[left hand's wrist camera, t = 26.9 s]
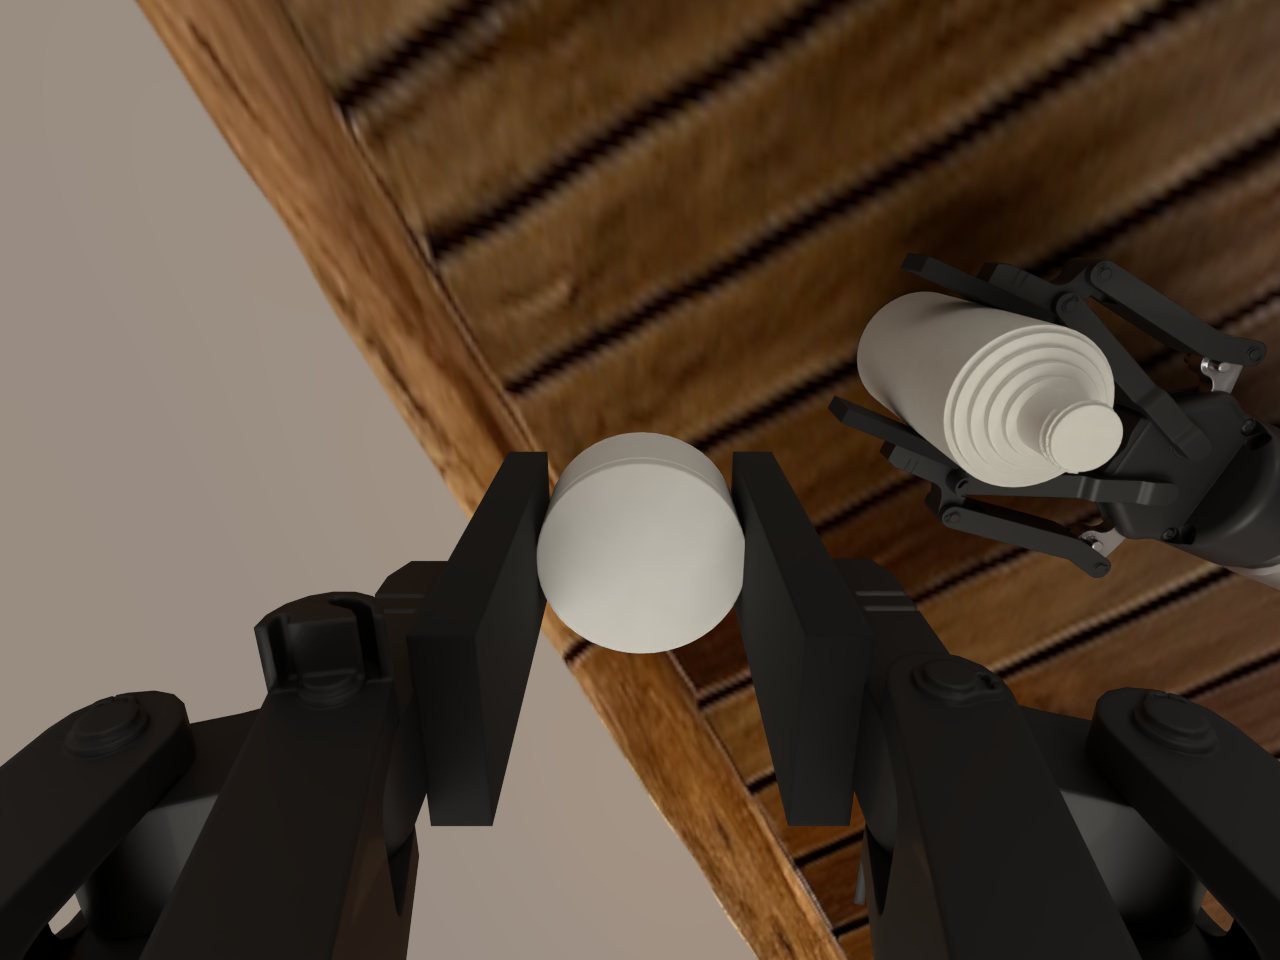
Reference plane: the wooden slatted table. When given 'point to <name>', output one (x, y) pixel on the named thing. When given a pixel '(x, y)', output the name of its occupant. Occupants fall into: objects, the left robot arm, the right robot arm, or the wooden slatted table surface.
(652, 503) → the cap
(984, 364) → the bottle
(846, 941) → the wooden slatted table surface
